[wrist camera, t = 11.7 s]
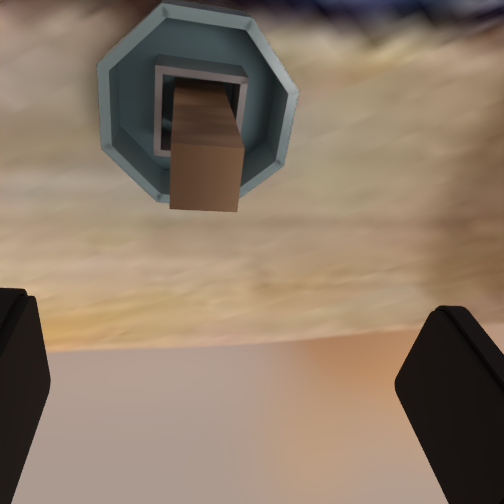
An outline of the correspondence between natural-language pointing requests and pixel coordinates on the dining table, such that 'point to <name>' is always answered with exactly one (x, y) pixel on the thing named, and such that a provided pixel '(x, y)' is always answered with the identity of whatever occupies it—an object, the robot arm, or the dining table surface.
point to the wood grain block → (204, 148)
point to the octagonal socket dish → (195, 67)
